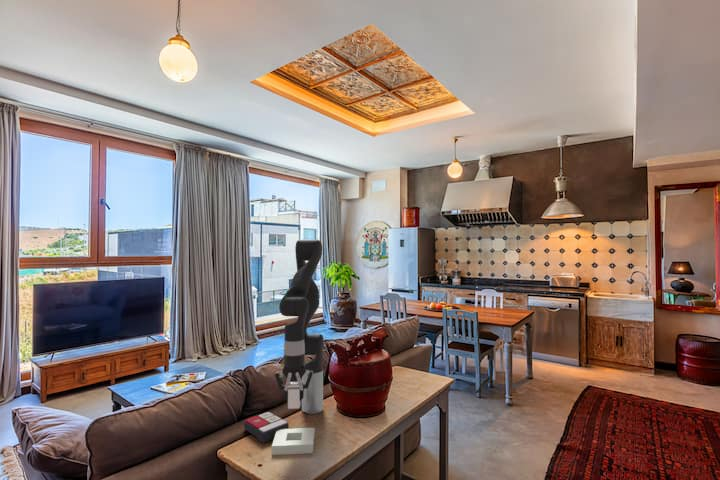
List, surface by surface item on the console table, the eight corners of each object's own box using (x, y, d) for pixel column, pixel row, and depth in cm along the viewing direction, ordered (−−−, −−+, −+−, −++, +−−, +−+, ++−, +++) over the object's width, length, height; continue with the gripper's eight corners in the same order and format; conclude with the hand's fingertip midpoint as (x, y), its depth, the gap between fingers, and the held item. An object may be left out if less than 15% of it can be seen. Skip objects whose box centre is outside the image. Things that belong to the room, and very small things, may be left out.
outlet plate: (276, 437, 135) (276, 429, 136) (314, 435, 137) (314, 427, 137) (271, 455, 123) (271, 446, 124) (312, 453, 125) (312, 444, 125)
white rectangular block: (289, 404, 132) (289, 382, 133) (300, 404, 133) (300, 381, 133) (287, 408, 128) (288, 385, 129) (299, 408, 129) (299, 385, 129)
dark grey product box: (268, 410, 149) (288, 420, 138) (269, 421, 149) (289, 432, 138) (243, 419, 141) (262, 431, 131) (243, 430, 141) (263, 443, 130)
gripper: (314, 349, 136) (314, 395, 135) (276, 349, 135) (275, 396, 134) (313, 354, 128) (313, 403, 127) (272, 355, 127) (272, 405, 126)
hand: (294, 399), depth 131 cm, fingers closed on white rectangular block, 4 cm apart
